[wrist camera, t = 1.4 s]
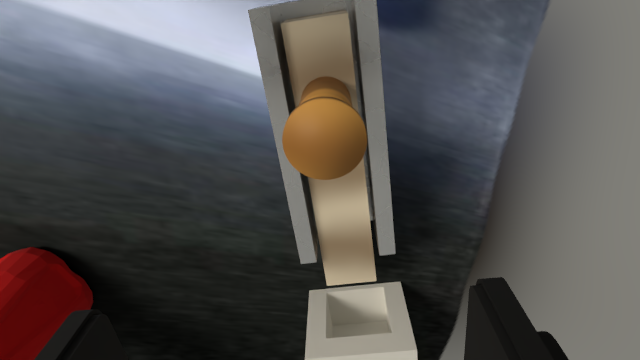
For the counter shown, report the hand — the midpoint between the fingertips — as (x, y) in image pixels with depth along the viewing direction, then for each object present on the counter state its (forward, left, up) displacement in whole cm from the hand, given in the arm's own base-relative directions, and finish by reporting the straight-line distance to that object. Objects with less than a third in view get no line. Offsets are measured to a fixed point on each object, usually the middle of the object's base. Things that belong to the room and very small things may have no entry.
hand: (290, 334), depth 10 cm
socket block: (+22, +1, -23) cm, 31 cm away
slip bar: (+4, +1, -21) cm, 22 cm away
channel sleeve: (+2, +1, -23) cm, 23 cm away
